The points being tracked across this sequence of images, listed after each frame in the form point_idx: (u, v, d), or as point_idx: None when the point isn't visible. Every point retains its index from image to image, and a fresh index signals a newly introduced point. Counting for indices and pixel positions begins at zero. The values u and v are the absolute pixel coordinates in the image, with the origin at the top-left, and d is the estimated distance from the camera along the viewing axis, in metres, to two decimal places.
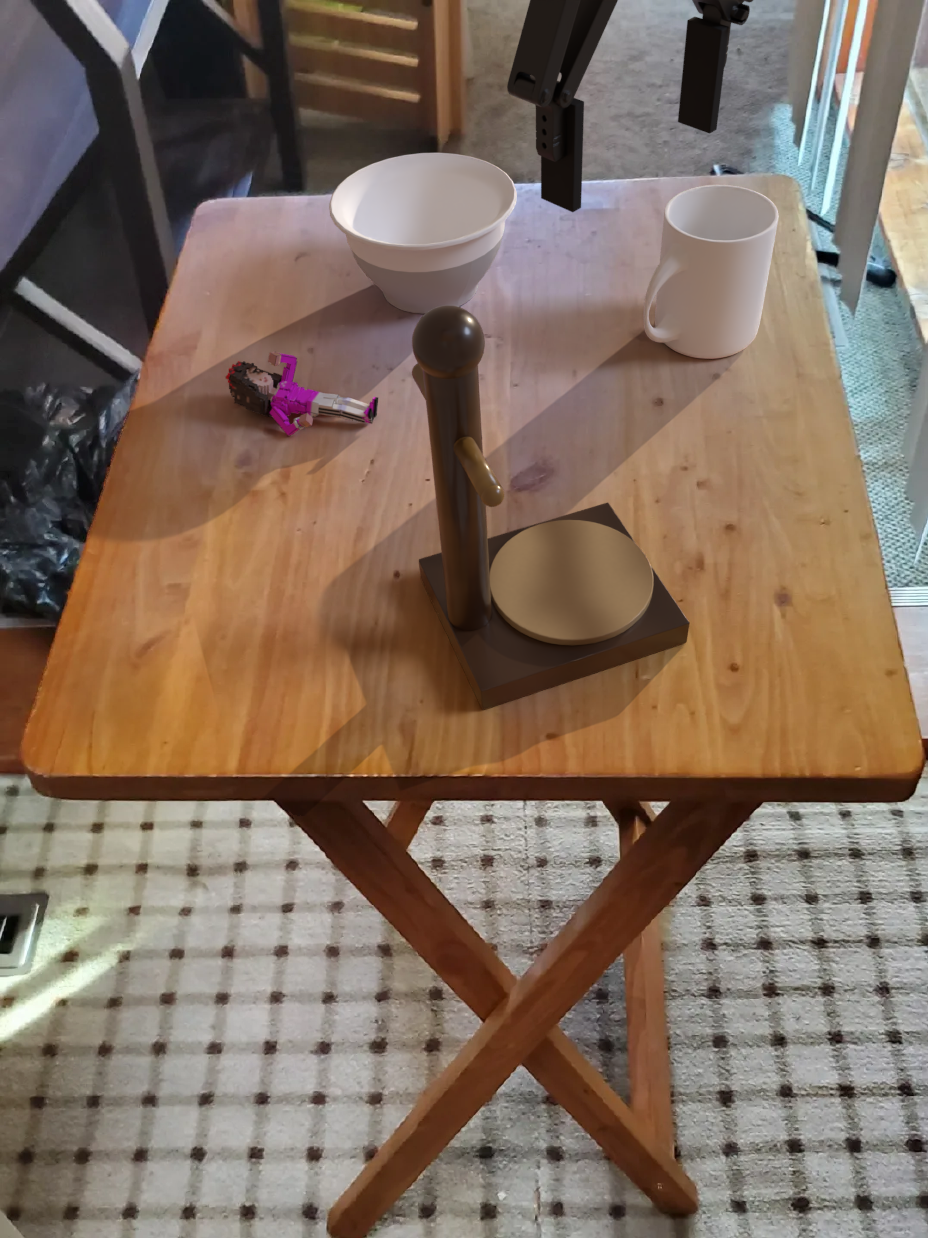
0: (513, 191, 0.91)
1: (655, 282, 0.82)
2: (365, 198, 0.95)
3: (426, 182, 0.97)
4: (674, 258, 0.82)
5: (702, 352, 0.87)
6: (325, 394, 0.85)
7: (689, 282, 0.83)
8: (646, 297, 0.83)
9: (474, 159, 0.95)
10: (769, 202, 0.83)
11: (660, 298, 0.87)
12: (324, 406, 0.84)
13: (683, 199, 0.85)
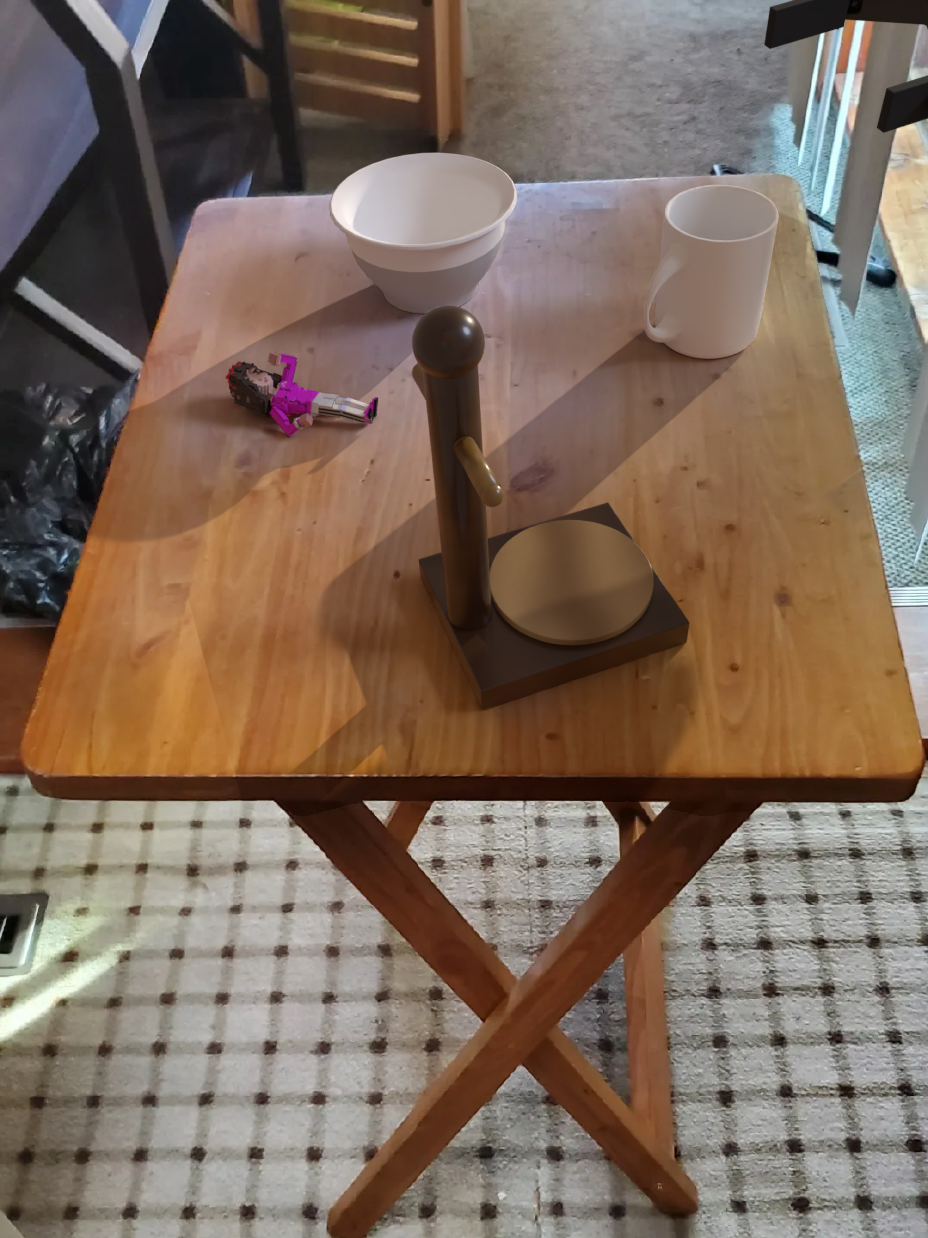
0: (513, 191, 0.91)
1: (655, 282, 0.82)
2: (365, 198, 0.95)
3: (426, 182, 0.97)
4: (674, 258, 0.82)
5: (702, 352, 0.87)
6: (325, 394, 0.85)
7: (689, 282, 0.83)
8: (646, 297, 0.83)
9: (474, 159, 0.95)
10: (769, 202, 0.83)
11: (660, 298, 0.87)
12: (324, 406, 0.84)
13: (683, 199, 0.85)
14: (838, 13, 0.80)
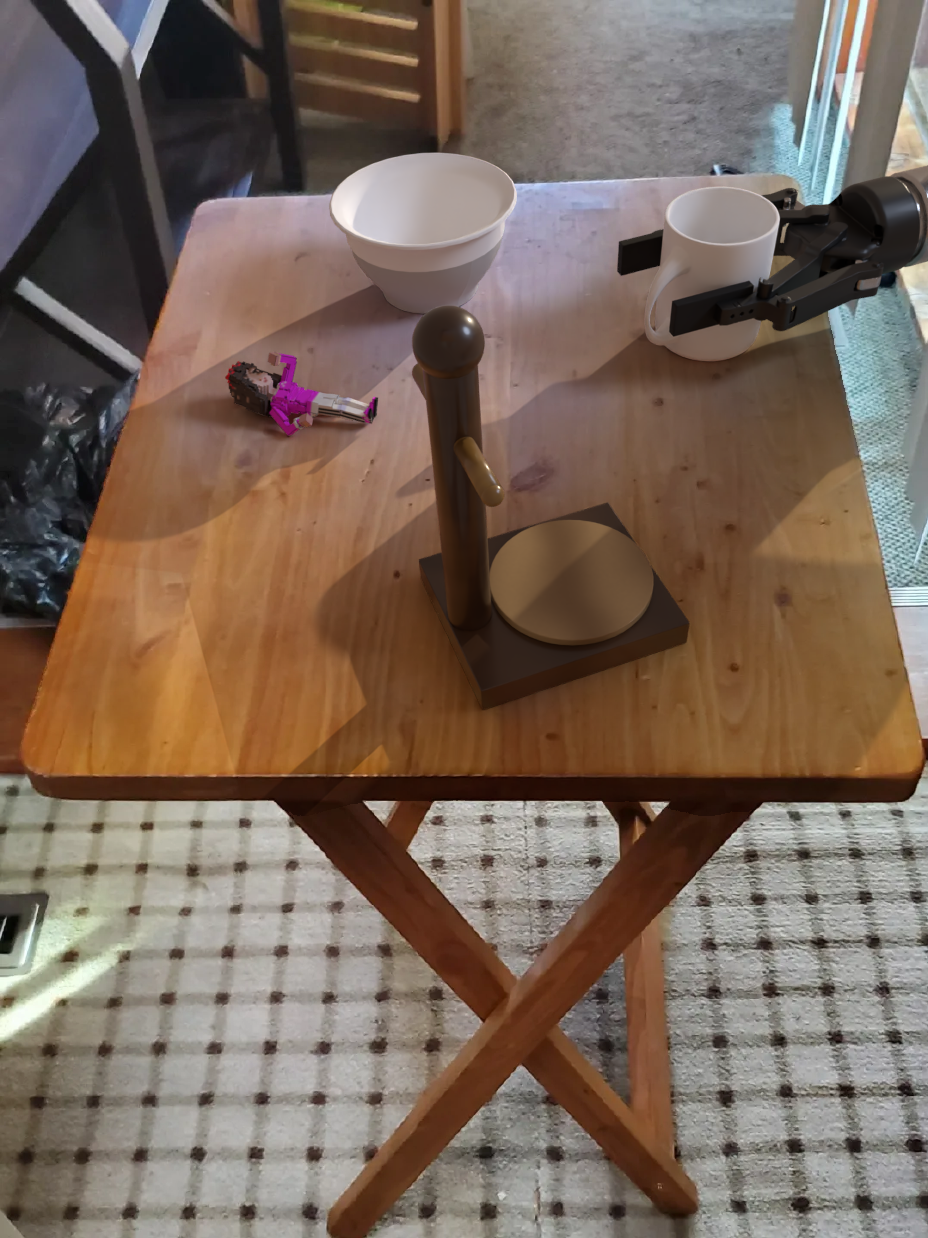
0: (513, 191, 0.91)
1: (657, 285, 0.82)
2: (365, 198, 0.95)
3: (426, 182, 0.97)
4: (675, 261, 0.81)
5: (703, 355, 0.87)
6: (325, 394, 0.85)
7: (690, 285, 0.83)
8: (647, 301, 0.82)
9: (474, 159, 0.95)
10: (770, 204, 0.83)
11: (660, 301, 0.87)
12: (324, 406, 0.84)
13: (683, 201, 0.85)
14: None
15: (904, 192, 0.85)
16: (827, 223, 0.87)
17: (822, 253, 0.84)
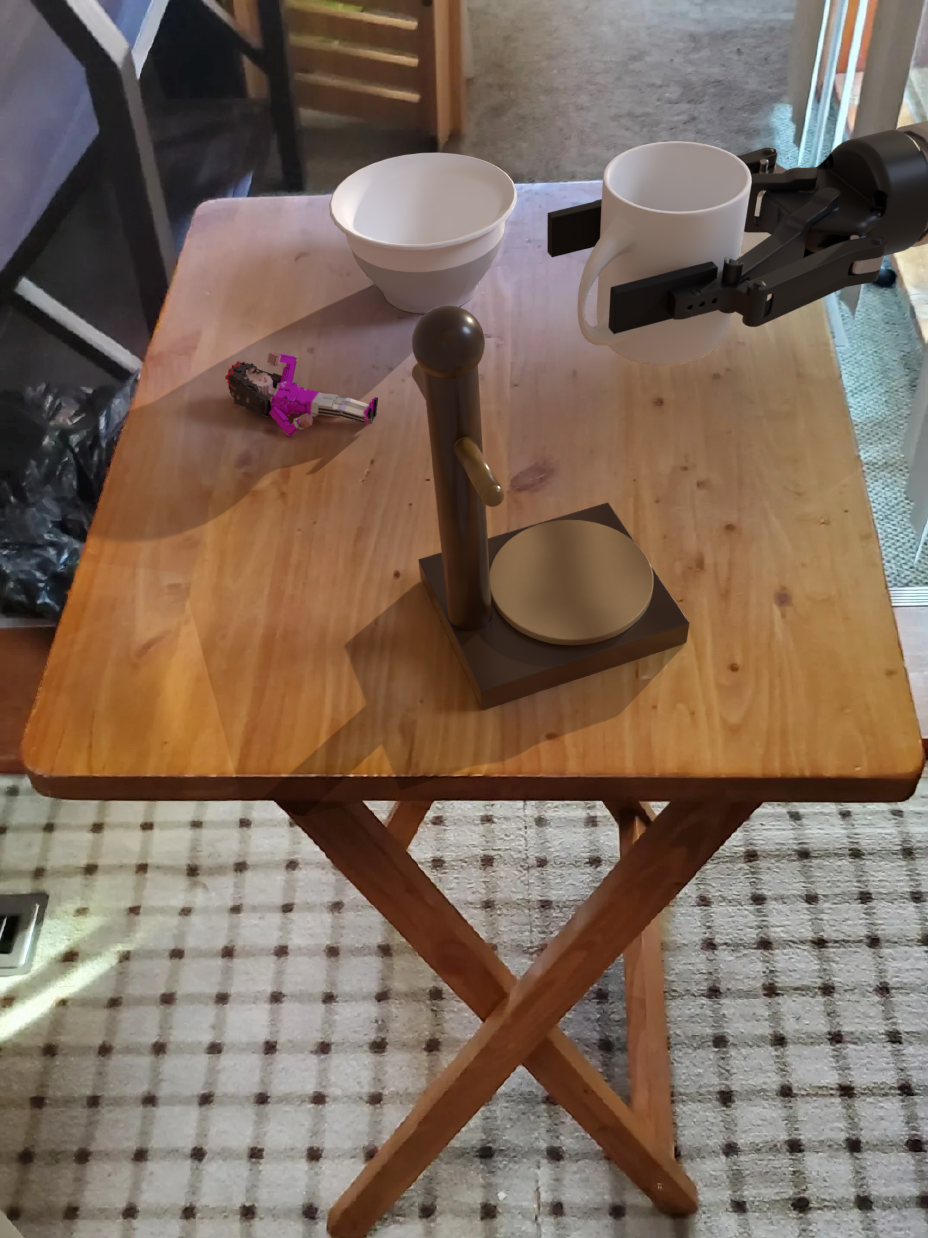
0: (513, 191, 0.91)
1: (591, 267, 0.63)
2: (365, 198, 0.95)
3: (426, 182, 0.97)
4: (615, 236, 0.62)
5: (656, 358, 0.68)
6: (325, 394, 0.85)
7: (636, 267, 0.64)
8: (580, 287, 0.63)
9: (474, 159, 0.95)
10: (739, 162, 0.64)
11: (601, 288, 0.68)
12: (324, 406, 0.84)
13: (629, 160, 0.66)
14: None
15: (912, 149, 0.66)
16: (814, 190, 0.68)
17: (807, 227, 0.65)
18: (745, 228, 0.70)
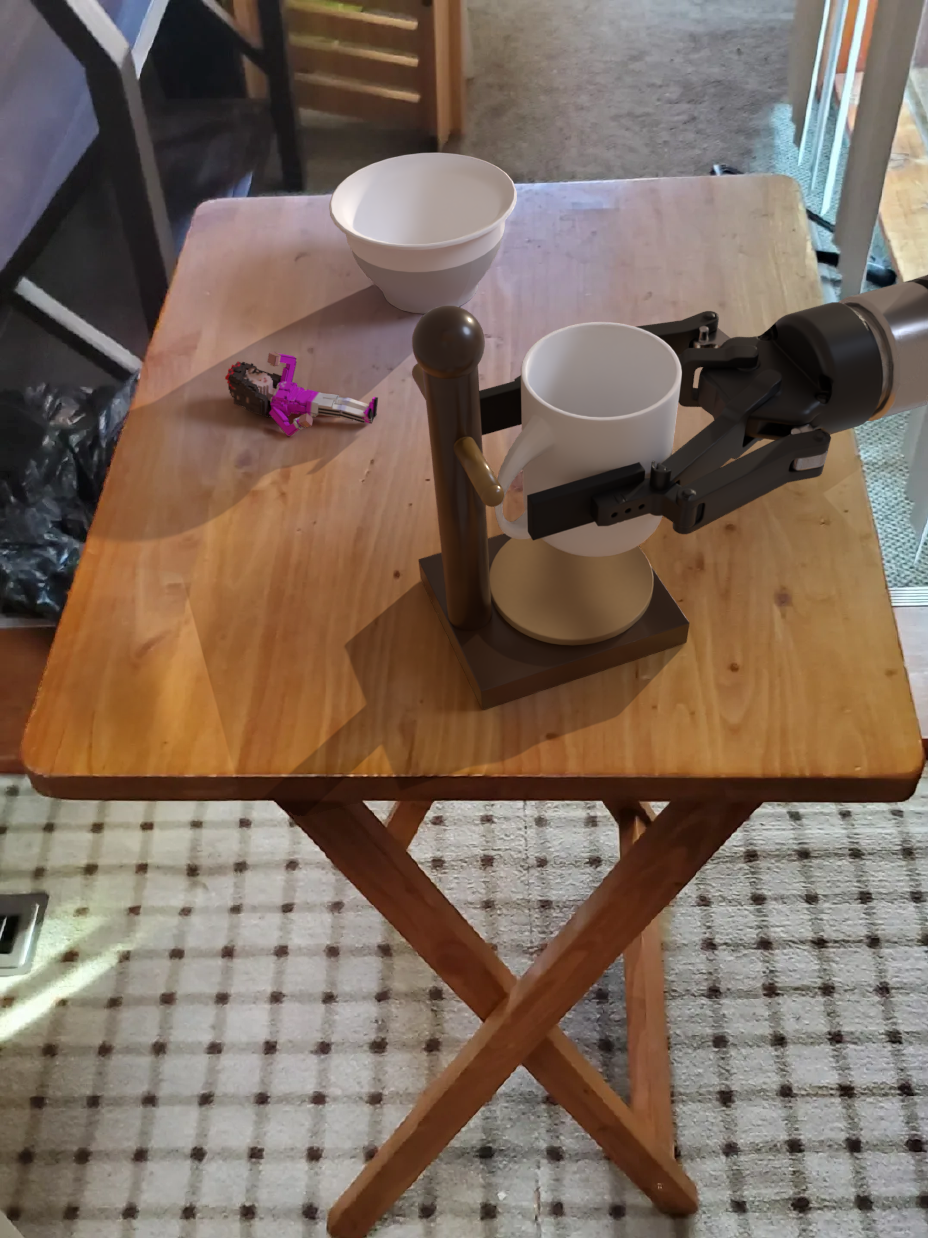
0: (513, 191, 0.91)
1: (507, 470, 0.57)
2: (365, 198, 0.95)
3: (426, 182, 0.97)
4: (533, 437, 0.57)
5: (584, 550, 0.63)
6: (325, 394, 0.85)
7: (558, 466, 0.59)
8: None
9: (474, 159, 0.95)
10: (670, 352, 0.59)
11: (525, 476, 0.63)
12: (324, 406, 0.84)
13: (552, 343, 0.60)
14: None
15: (860, 330, 0.61)
16: (755, 367, 0.63)
17: (745, 417, 0.60)
18: (683, 402, 0.65)
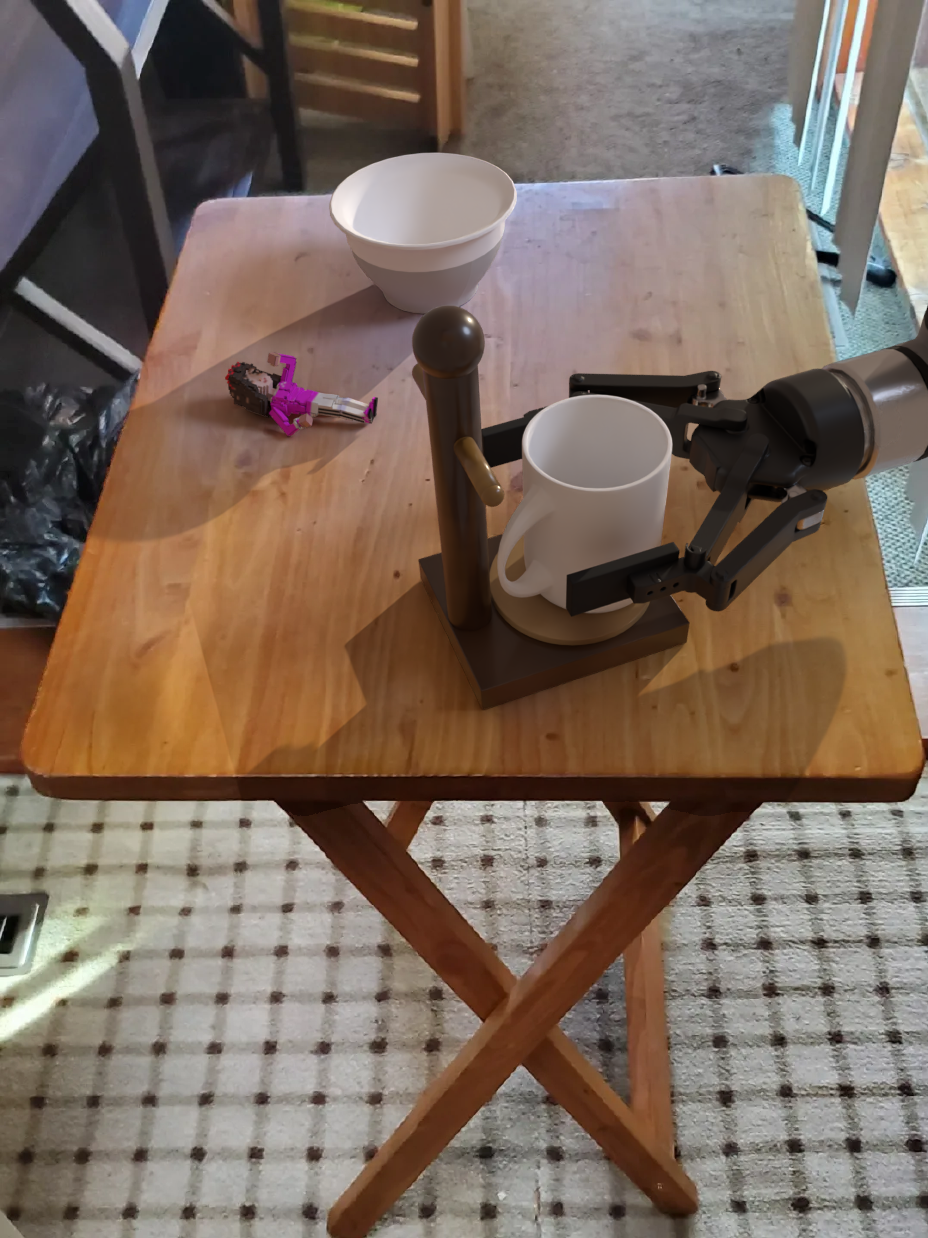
0: (513, 191, 0.91)
1: (509, 536, 0.61)
2: (365, 198, 0.95)
3: (426, 182, 0.97)
4: (533, 506, 0.61)
5: None
6: (325, 394, 0.85)
7: (556, 531, 0.63)
8: (499, 553, 0.62)
9: (474, 159, 0.95)
10: (661, 424, 0.63)
11: (526, 538, 0.67)
12: (324, 406, 0.84)
13: (551, 415, 0.64)
14: None
15: (843, 396, 0.64)
16: (742, 431, 0.66)
17: (748, 483, 0.63)
18: (675, 452, 0.69)
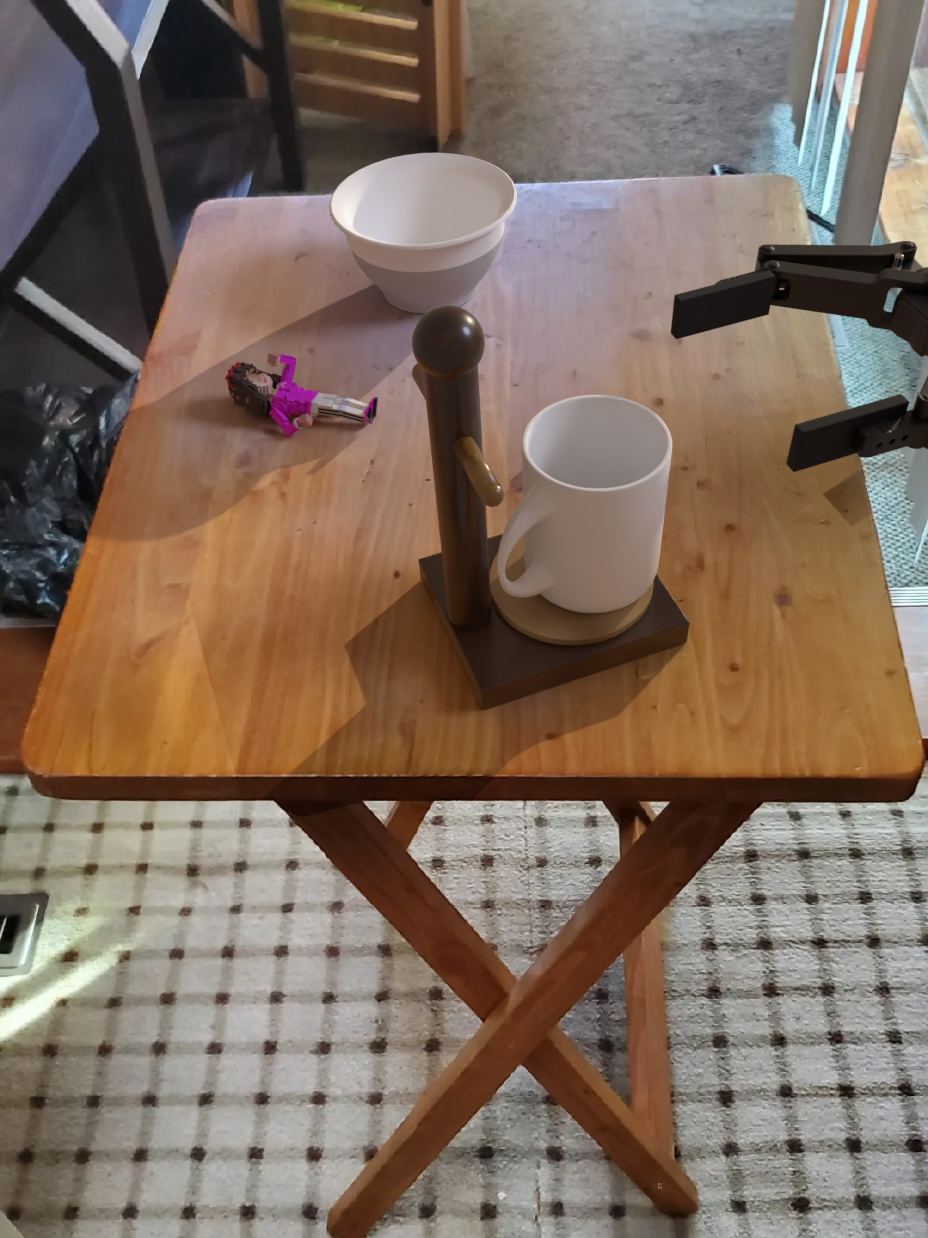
0: (513, 191, 0.91)
1: (509, 536, 0.61)
2: (365, 198, 0.95)
3: (426, 182, 0.97)
4: (533, 506, 0.61)
5: (582, 607, 0.67)
6: (324, 394, 0.85)
7: (556, 531, 0.63)
8: (499, 553, 0.62)
9: (474, 159, 0.95)
10: (661, 424, 0.63)
11: (526, 538, 0.67)
12: (324, 406, 0.84)
13: (551, 415, 0.64)
14: (760, 301, 0.67)
15: None
16: None
17: None
18: (871, 323, 0.67)
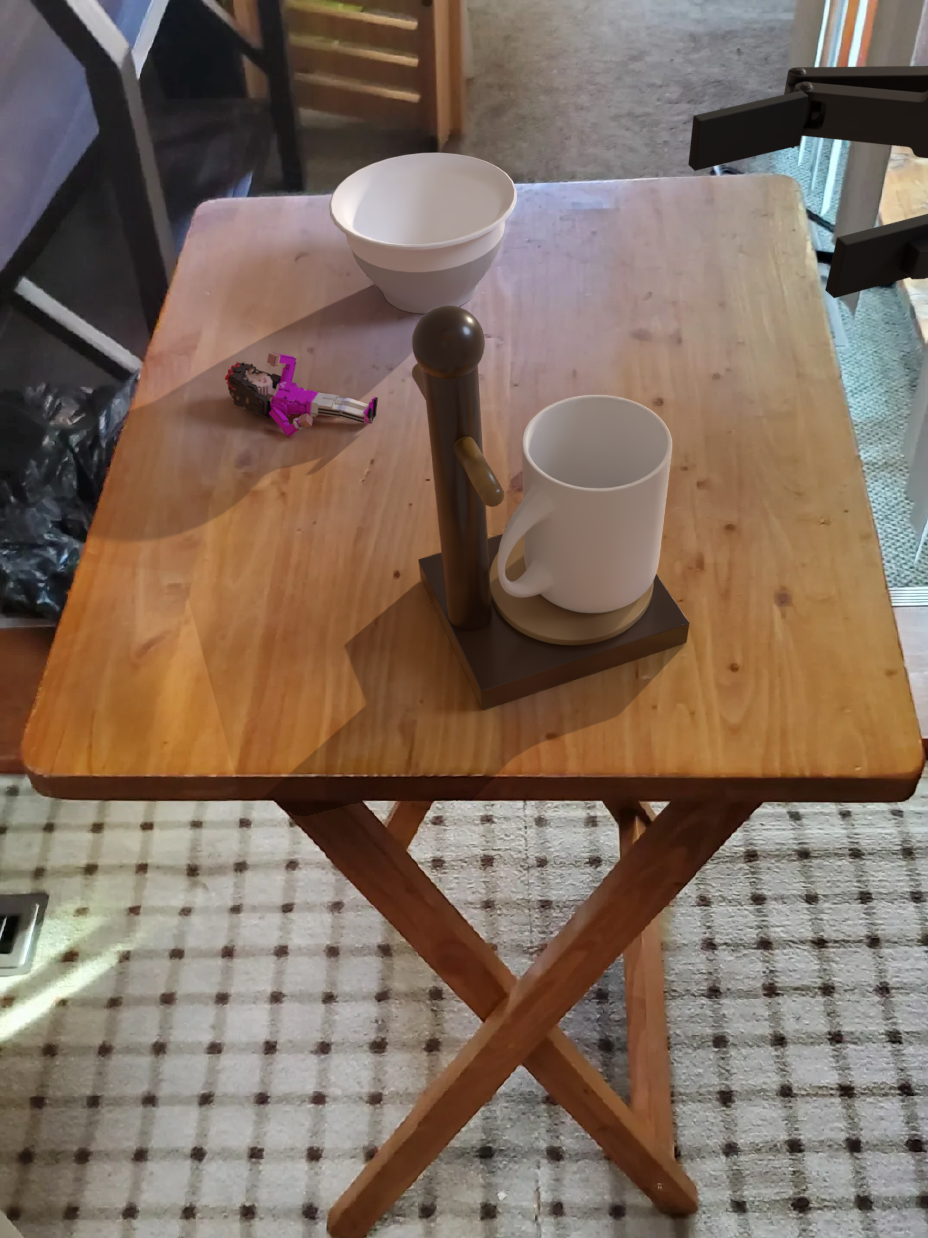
0: (513, 191, 0.91)
1: (509, 536, 0.61)
2: (365, 198, 0.95)
3: (426, 182, 0.97)
4: (533, 506, 0.61)
5: (582, 607, 0.67)
6: (324, 394, 0.85)
7: (556, 531, 0.63)
8: (499, 553, 0.62)
9: (474, 159, 0.95)
10: (661, 424, 0.63)
11: (526, 538, 0.67)
12: (324, 406, 0.84)
13: (551, 415, 0.64)
14: (791, 127, 0.59)
15: None
16: None
17: None
18: (917, 152, 0.59)
